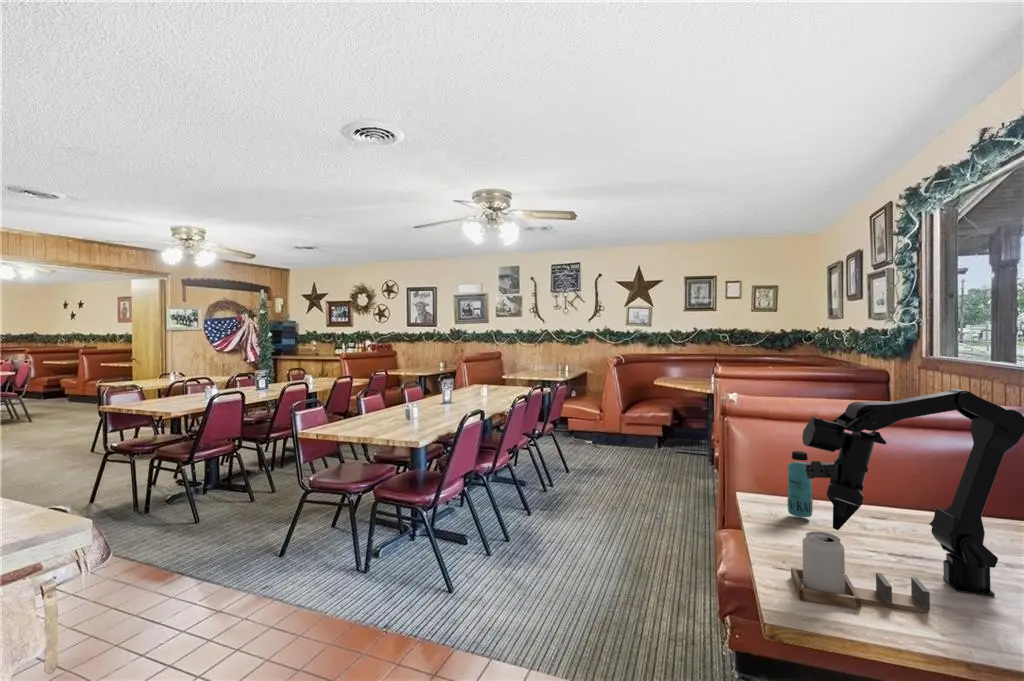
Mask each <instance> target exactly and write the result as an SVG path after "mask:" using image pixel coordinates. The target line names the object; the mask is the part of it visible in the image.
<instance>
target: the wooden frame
mask: <svg viewBox="0 0 1024 681" xmlns="http://www.w3.org/2000/svg"><path fill="white" fill-rule="evenodd" d="M790 576H791V579H792V583H793V585H794V588H795V591H796V593H797V597H798V599H799V600H800V601H801V600H802V601H807V602H814V603H821V604H827V605H833V606H838V607H839V606H840V607H844V608H851V609H857V610H862V604H867V605H874V606H879V607H880V606H881V607H887V608H894V609H900V610H907V611H913V612H919V613H927V614H930V611H931V601H930V600H931V597H930V596H931V594H930V591H929V590H928V588H927V587H926V586H925V585H924V584H923V583H922V582H921V581H920V580H919V578H918V577H910V581H911V582H910V586H911V591H910V592H911V595H910V594H904V593H898V592H893V586H892V584H890V582H889V581H888V580H887V578H886V577H885V575H884V574H883V573H881V572H875V589H870V588H862V587H855V586H854V585H853V583H852V582H851V580H850V578H849V577H848V575H847V574H845V592H847V594H845V595H843V594H837V593H830V592H823V591H817V590H810V589H806V588H804V586H803V583H802V582H801V580H803V568H797V567H790Z"/></svg>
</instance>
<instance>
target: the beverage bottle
mask: <svg viewBox="0 0 1024 681" xmlns="http://www.w3.org/2000/svg"><path fill="white" fill-rule="evenodd" d="M791 459H792V460H795V461H791V462H790V463H789V464H788V465H787V489H786V490H787V496H786V497H787V502H786V504H787V511H788V513H789V515H791V516H794V517H798V518H811V517H812V516H813V508H814V505H813V502H814V500H813V479H810V478H807V475H806V468H805V463H806V462H804V461H808V460H809V457H808V453H807V452H805V451H799V450H798V451H797V450H795V451H792V452H791ZM801 461H802V462H801Z"/></svg>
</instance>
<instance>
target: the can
mask: <svg viewBox="0 0 1024 681" xmlns="http://www.w3.org/2000/svg"><path fill="white" fill-rule="evenodd" d="M841 541H842V540H841V538H840V537H839V536H838V535H836V534H833V533H829V532H825V531H821V530H820V531H819V530H818V531H816V530H813V531H807V532H806V533H805V537H804V538H803V539H802V569H803V579H802V581H803V582H802V587H803V588H804V589H810V590H817V591H823V592H830V593H837V594H843V595H846V589H845V575H846V574H845V573H846V564H845V563H846V562H845V546H844V545H843V543H842V542H841Z"/></svg>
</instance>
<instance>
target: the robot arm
mask: <svg viewBox="0 0 1024 681" xmlns="http://www.w3.org/2000/svg"><path fill="white" fill-rule="evenodd" d="M953 411H956V412H957V413H959V414H961V416H963V417H965V418H967V419H968V420H971V422H970V433H971V438H972V442H973V445H972V447H971V450H970V453H969V456H968V458H967V461H966V464H965V467H964V470H963V473H962V475H961V478H960V481H959V483H958V487H957V490H956V491H955V495H954V497H953V500H952V503H951V505H950V506H948V507H947V508H946V509H945V510H941V509H940V508H936V509H935V510H934V514H933V515H934V516H933V519H932V520H931V522H930V523H929V525H930V526H931V529H930V530H931V534H932V535H933V538H934V539H935V541H937V542H938V543H939V544H940V546H941V549H942V550H943V551H946V553H945V554H946V555H945V557H946V558H945V559H944V560H943V565H942V566H943V575H942V578H943V580H944V581H945V582H946V583H947V584H949V586H951V588H953V589H954V590H955V591H957V592H961V593H968V594H975V595H983V596H991V597H995V596H996V593H995V592H994V591H993V590H992V589H991V588H992V587H991V569H992V568H993V569H994V568H996V566H997V563H998V560H999V558H998V556H996V555H995V554H994V553H993V552H992V551H991V550H989V549H988V548H987V547H986V546H985V545H984V542H985V541H984V540H985V536H986V535H985V534H986V532H985V529H984V524H983V519H982V515H983V512H984V510H985V507H986V504H987V502H988V499H989V496H990V494H991V491H992V489H993V485H994V482H995V480H996V477H997V475H998V472H999V469H1000V466H1001V464H1002V461H1003V458H1004V455H1005V454H1006V452H1008V451H1009V450H1010V449H1012V448H1013V447H1014V446H1016V445H1017V444H1018V443H1019V442H1020V440H1021V439H1022V437H1023V435H1024V415H1023V414H1022V413H1021V412H1019V411H1018V410H1014V409H1010V408H1004V407H1003V406H1001V405H997V404H995V403H994V402H991V401H989V400H986V399H984V398H983V397H982V398H981V397H980V396H978V395H976V394H974V393H973V392H971V391H969V390H965V389H957V388H951V389H948V390H946V391H945V390H944V391H940V392H935V393H929V394H923V395H918V396H914V397H908V398H907V397H906V398H902V399H898V400H897V399H895V400H889V401H886V400H885V401H878V400H868V401H867V400H866V401H865V400H863V401H854V402H850V403H849V404H848V405H847V407H846V409H845V411H844V412H843V413H842V414H840V415H838V416H837V417H836V418H834V419H833V420H832V421H829V420H825V419H821V418H819V417H817V416H816V417H815V416H811V418H810V420H809V422H808V423H807V424H806V426H805V428H803V431H802V443H803V445H804V446H806V447H810V448H814V449H818V450H821V451H825V452H830V453H835V452H836V451H839V452H838V454H837V457H835V460H834V462H832V461H831V462H825V461H824V462H823V461H821V460H812V461H811V462H809V461H808V462H804V463H805V468H806V475H807V478H810V479H812V480H813V479H819V478H820V479H825V478H826V479H829V483H828V488H827V491H826V498H827V499H828V500H830V503H832V506H833V507H832V529H834V530H836V531H839V530H841V528H842V527H843V526H844V525H845V524H846V523H847V521H848V520H850V518H851V517H852V516H853V515H854V514H855V513H856V512H857V511H858V510H859V509H860V508H861V507H862V505H863V501H864V494H863V490H864V489H863V488H864V483H865V479H866V475H867V473H868V470H869V464H870V460H871V456H872V452H873V450H874V445H875V443H876V444H879V445H883V446H885V445H887V441H886V440H885V439H884V438H883V436H882V435H881V433H880V431H879V430H881V429H885V428H887V427H890V426H892V425H894V424H896V423H898V422H900V421H902V420H907V419H912V418H919V417H924V416H930V415H935V414H942V413H947V412H953ZM866 431H868V432H866Z"/></svg>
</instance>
